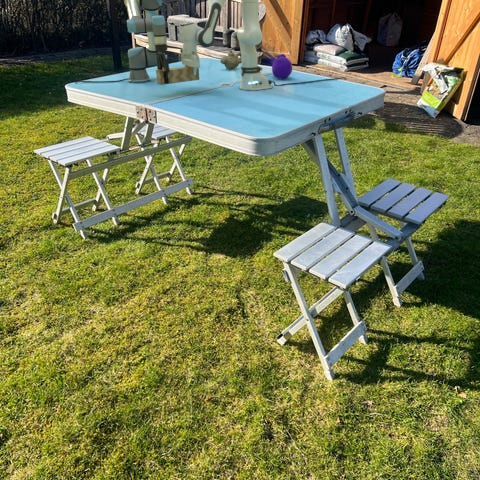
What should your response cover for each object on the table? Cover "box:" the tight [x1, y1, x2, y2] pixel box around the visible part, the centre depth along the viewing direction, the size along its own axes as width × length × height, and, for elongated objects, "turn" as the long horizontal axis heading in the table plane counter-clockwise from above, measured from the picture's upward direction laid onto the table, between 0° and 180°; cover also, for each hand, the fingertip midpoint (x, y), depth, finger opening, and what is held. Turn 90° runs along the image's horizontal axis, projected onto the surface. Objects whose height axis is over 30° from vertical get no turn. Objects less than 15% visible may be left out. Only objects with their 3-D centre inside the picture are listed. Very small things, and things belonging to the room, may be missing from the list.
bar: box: [155, 66, 200, 86], centre depth 291 cm, size 28×6×8 cm, turn 122°
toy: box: [260, 53, 293, 80], centre depth 336 cm, size 16×18×27 cm
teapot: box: [220, 49, 241, 71], centre depth 371 cm, size 21×12×15 cm, turn 120°
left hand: (164, 82), depth 288 cm, fingers closed on bar, 6 cm apart
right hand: (191, 73), depth 295 cm, fingers open, 8 cm apart
